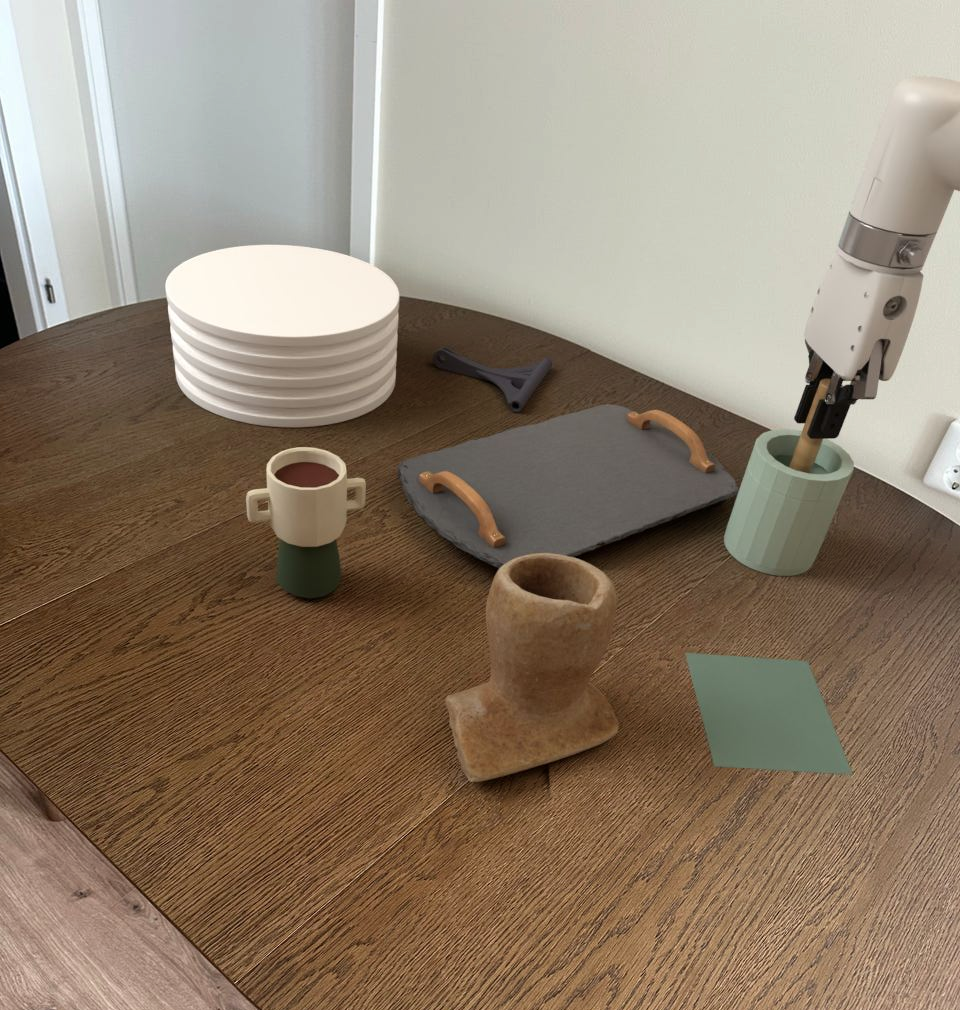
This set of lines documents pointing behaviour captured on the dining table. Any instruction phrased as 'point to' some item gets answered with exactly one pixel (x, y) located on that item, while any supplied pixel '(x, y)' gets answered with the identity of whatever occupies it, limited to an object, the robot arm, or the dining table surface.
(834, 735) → the mat
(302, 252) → the plate stack
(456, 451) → the serving tray
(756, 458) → the jar
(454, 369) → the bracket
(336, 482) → the character mug
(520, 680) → the stone cup
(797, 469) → the wood and black rod
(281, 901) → the dining table surface
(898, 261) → the robot arm
